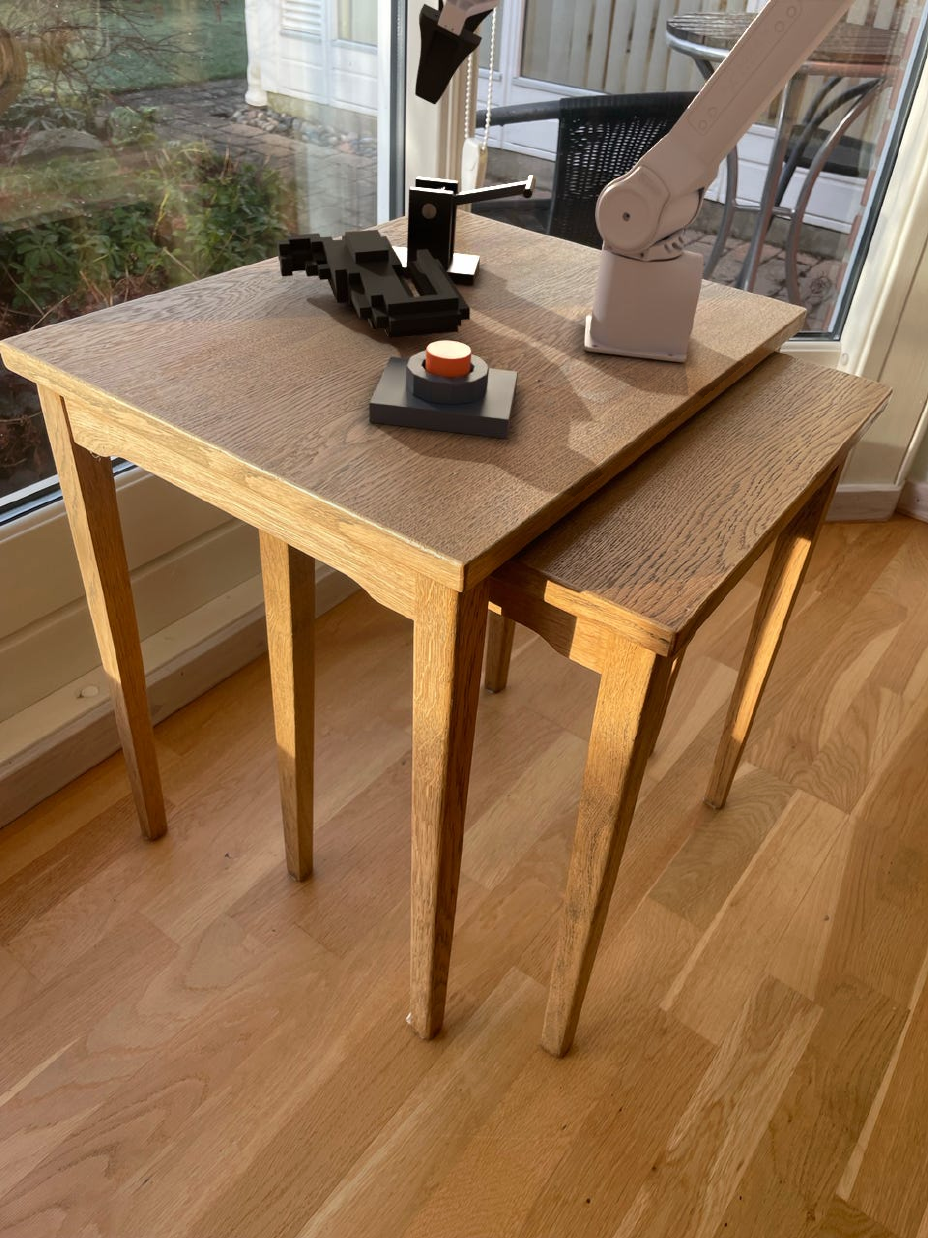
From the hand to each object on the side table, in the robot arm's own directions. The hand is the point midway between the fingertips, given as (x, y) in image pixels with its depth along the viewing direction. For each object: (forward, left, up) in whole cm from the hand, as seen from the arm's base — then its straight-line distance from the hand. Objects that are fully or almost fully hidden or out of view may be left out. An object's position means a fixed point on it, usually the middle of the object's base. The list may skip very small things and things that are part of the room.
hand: (432, 82), depth 93 cm
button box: (-6, +29, -18) cm, 35 cm away
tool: (+4, +11, -18) cm, 22 cm away
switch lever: (-5, -2, -11) cm, 13 cm away
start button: (-6, +29, -15) cm, 33 cm away
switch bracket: (0, -2, -18) cm, 19 cm away
